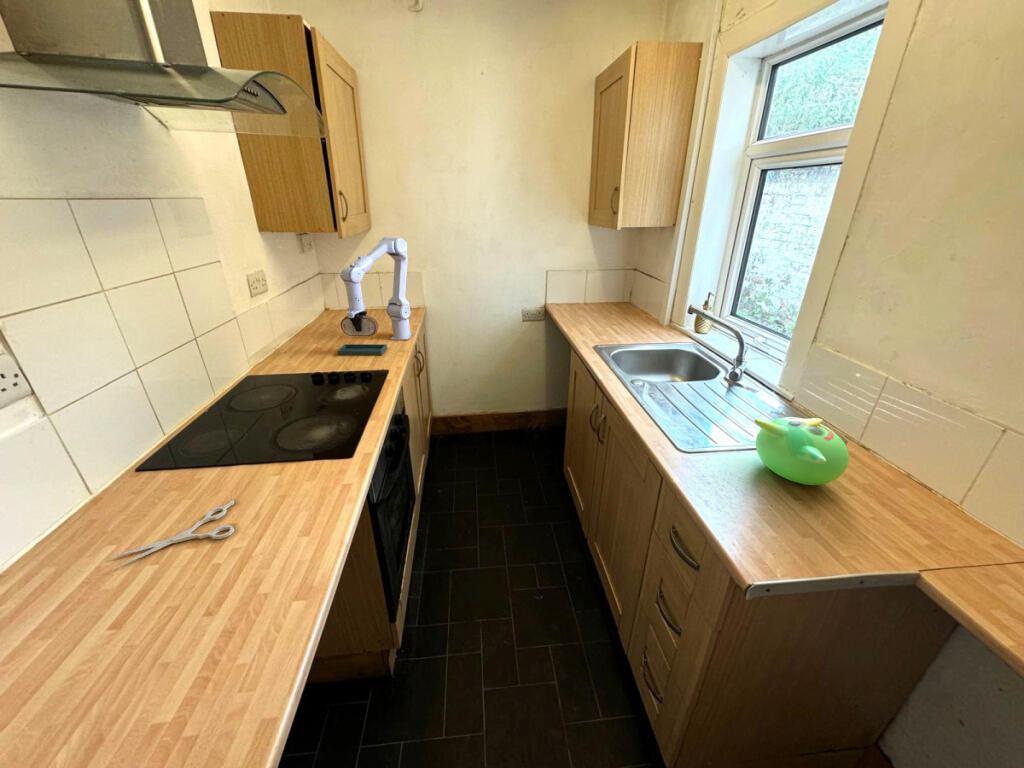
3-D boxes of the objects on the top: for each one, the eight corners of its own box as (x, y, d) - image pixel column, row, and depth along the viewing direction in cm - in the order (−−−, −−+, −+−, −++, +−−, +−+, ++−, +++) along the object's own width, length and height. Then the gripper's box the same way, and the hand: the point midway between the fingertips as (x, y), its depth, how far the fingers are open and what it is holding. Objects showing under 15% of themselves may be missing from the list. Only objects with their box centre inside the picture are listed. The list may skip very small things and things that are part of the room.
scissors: (243, 527, 82) (107, 582, 70) (244, 530, 82) (109, 585, 71) (233, 499, 89) (109, 545, 78) (234, 502, 90) (110, 548, 78)
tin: (379, 335, 175) (377, 315, 172) (377, 337, 172) (374, 316, 169) (344, 334, 175) (341, 315, 172) (341, 336, 172) (338, 316, 169)
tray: (346, 348, 180) (345, 344, 179) (387, 348, 179) (386, 344, 178) (338, 355, 172) (337, 350, 171) (381, 355, 172) (380, 351, 171)
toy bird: (851, 484, 95) (874, 429, 89) (811, 510, 88) (833, 451, 82) (773, 447, 109) (788, 397, 103) (733, 465, 102) (747, 413, 96)
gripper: (351, 293, 174) (357, 325, 179) (337, 301, 161) (343, 335, 166) (368, 293, 174) (373, 325, 179) (356, 302, 160) (361, 335, 166)
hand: (360, 330), depth 173 cm, fingers closed on tin, 2 cm apart
